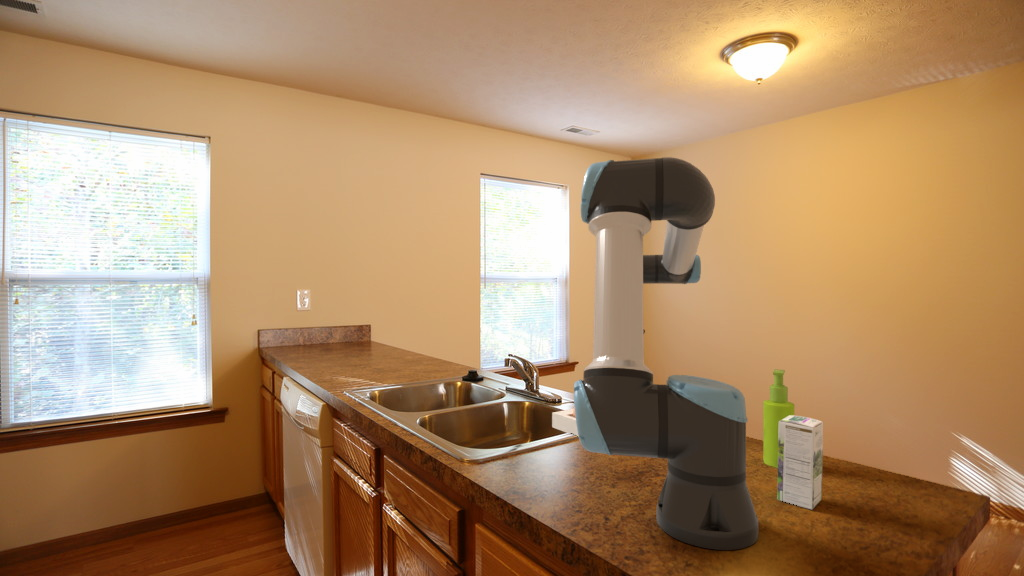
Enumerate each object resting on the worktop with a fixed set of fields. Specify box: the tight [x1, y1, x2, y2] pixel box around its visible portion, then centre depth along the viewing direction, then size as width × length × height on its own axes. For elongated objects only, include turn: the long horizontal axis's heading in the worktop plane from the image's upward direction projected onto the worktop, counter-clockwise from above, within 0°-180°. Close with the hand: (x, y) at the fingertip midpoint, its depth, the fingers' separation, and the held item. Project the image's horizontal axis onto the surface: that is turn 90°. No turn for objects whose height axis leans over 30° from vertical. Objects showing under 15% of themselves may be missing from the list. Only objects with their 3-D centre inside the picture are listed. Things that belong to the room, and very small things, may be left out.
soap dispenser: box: [762, 368, 795, 469], centre depth 108 cm, size 6×7×20 cm
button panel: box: [551, 408, 579, 438], centre depth 137 cm, size 26×14×4 cm, turn 125°
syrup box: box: [776, 415, 824, 510], centre depth 89 cm, size 6×6×14 cm
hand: (626, 388), depth 141 cm, fingers closed
